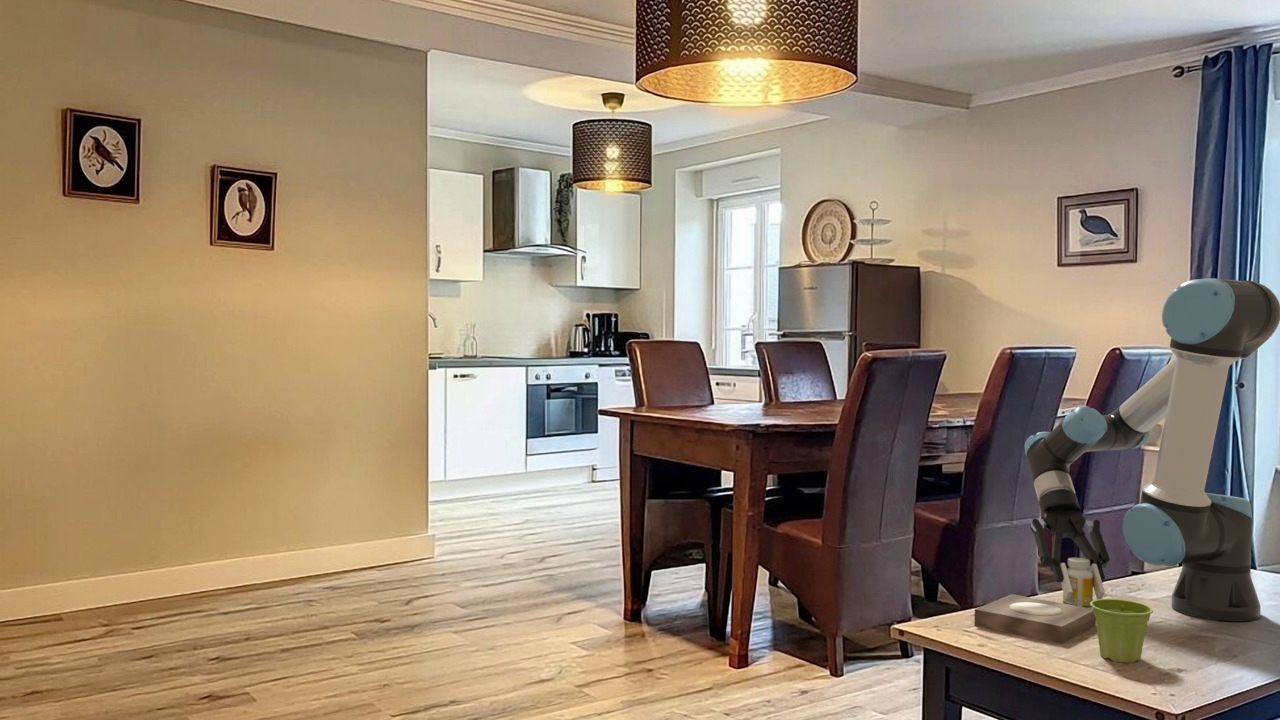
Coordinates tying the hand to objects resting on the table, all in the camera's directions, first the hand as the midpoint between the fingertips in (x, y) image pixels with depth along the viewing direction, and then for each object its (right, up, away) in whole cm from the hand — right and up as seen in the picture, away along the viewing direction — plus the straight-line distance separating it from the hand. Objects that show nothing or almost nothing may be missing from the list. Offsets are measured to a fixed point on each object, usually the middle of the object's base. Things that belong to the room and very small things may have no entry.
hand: (1085, 595), depth 198 cm
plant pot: (-6, -4, -27) cm, 29 cm away
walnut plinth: (-13, -3, -9) cm, 16 cm away
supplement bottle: (0, -3, +4) cm, 5 cm away
